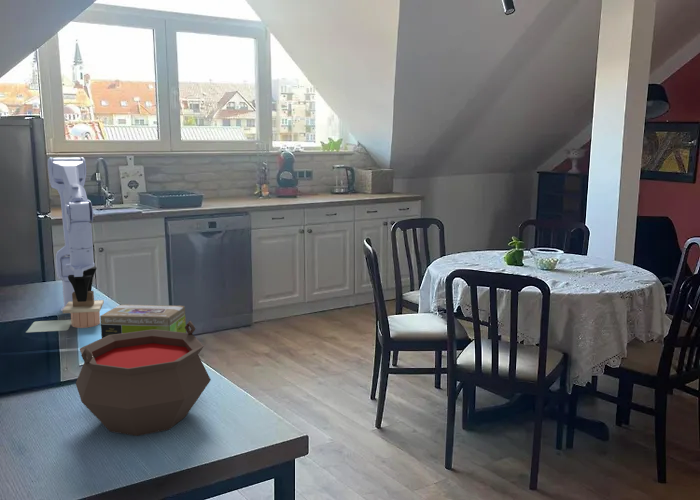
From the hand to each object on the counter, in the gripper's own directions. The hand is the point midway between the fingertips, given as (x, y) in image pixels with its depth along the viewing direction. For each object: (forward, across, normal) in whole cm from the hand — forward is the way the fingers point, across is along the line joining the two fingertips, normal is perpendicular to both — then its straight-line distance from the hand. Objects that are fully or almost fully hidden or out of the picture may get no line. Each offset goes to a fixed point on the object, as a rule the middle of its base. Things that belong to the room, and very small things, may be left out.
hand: (84, 297), depth 176 cm
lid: (+3, 0, 0) cm, 3 cm away
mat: (+8, 0, -9) cm, 12 cm away
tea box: (+8, +41, +18) cm, 46 cm away
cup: (+8, 0, 0) cm, 8 cm away
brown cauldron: (+8, +63, +19) cm, 66 cm away
